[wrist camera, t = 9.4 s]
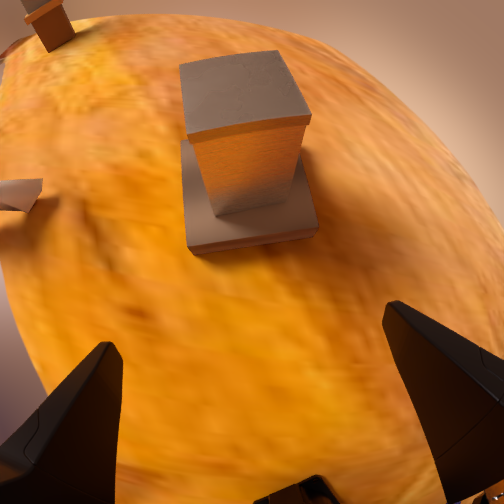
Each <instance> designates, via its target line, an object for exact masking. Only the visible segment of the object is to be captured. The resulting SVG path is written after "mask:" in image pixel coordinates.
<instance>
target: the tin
mask: <svg viewBox="0 0 504 504" xmlns="http://www.w3.org/2000/svg"><path fill="white" fill-rule="evenodd" d="M179 69H180V79H181V89H182V98H183V107H184V115H185V123H186V131H187V136H188V140H189V143H190V145H191V144H192V145H193V148H194V151H195V155H196V158H197V161H198V165H199V168H200V171H201V174H202V178H203V181H204V184H205V188H206V191H207V194H208V197H209V200H210V204H211V207H212V210H213V213H214V216H215V217H216V216H221V215H225V214H230V213H235V212H239V211H244V210H249V209H254V208H259V207H264V206H269V205H274V204H279V203H285V202H287V198H288V194H289V191H290V187H291V183H292V179H293V175H294V171H295V168H296V164H297V160H298V156H299V152H300V148H301V144H302V140H303V136H304V132H305V128H306V125H309V123H310V120H311V116H312V114H311V111H310V109H309V107H308V105H307V103H306V101H305V99H304V97H303V95H302V93H301V92H300V90H299V88H298V86H297V84H296V82H295V80H294V78H293V76H292V75H291V73H290V71H289V69H288V67H287V65H286V64H285V62H284V60H283V58H282V57H281V55H280V53H279V51H278V50H273V51H261V52H251V53H242V54H235V55H228V56H221V57H215V58H210V59H204V60H199V61H194V62H190V63H185V64H181V65H179Z"/></svg>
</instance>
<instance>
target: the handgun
mask: <svg viewBox="0 0 504 504" xmlns="http://www.w3.org/2000/svg"><path fill="white" fill-rule="evenodd" d="M42 181H43V179H22V180H6V181H0V210H6V211H23V212H26V213H29V211H30V209H31V208H32V206H33V204H34V203H35V201H36V199H37V198H38V196H39V195H40V193H41V191H42Z"/></svg>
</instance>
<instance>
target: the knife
mask: <svg viewBox="0 0 504 504" xmlns="http://www.w3.org/2000/svg"><path fill="white" fill-rule="evenodd" d="M21 2H22V4H23V6H24V7H25V9H26V11H27V13H28V14H27V15H26V17H25V18H24V20H25V22H26V24H27V25H29V24H30V23H31V24H32V25H33V27H34V29H35V31H36V33H37V34H38V36H39V38H40V39H41V41H42V43H43V45H44V46H45V48H46V50H47V51H48V53H49V52H51V51H52V50H54V49H55V48H57V47H59V46H60V45H62V44H63V43H65V42H67V41H68V40H70V39H72V38H74V37H75V32H74V30H73V28H72V25H71V23H70V21H69V19H68V17H67V15H66V13H65V11H64V9H63V7H62V4H61V3H63V0H21Z"/></svg>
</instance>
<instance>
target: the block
mask: <svg viewBox="0 0 504 504" xmlns="http://www.w3.org/2000/svg"><path fill="white" fill-rule="evenodd" d="M181 163H182V184H183V201H184V216H185V228H186V240H187V247H188V249H189V250H190V251H191V252H192V254H193V255H198V254H205V253H211V252H217V251H224V250H230V249H237V248H243V247H250V246H257V245H263V244H270V243H276V242H283V241H290V240H296V239H303V238H310V237H313V236H314V234H315V233H316V231H317V230H318V228H319V224H318V220H317V216H316V212H315V208H314V204H313V200H312V196H311V193H310V189H309V185H308V181H307V178H306V174H305V171H304V167H303V164H302V160H301V157H300V153H299V156H298V160H297V164H296V168H295V171H294V175H293V179H292V183H291V187H290V191H289V194H288V198H287V202H285V203H279V204H274V205H269V206H264V207H259V208H254V209H249V210H244V211H239V212H235V213H230V214H225V215H221V216H216V217H215V216H214V213H213V210H212V207H211V204H210V200H209V197H208V194H207V191H206V188H205V184H204V181H203V178H202V174H201V171H200V168H199V165H198V161H197V158H196V155H195V151H194V148H193V145H192V144H191V145H190V143H189V140H188V139H187V140H182V141H181Z"/></svg>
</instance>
